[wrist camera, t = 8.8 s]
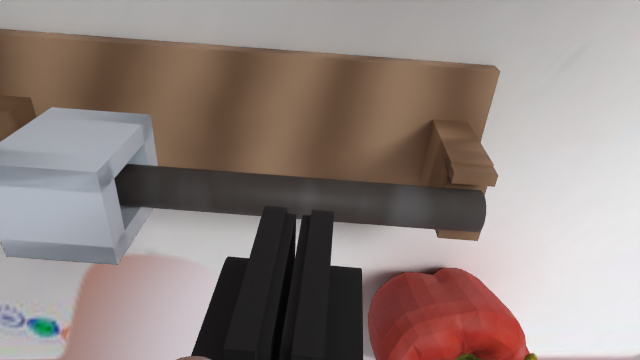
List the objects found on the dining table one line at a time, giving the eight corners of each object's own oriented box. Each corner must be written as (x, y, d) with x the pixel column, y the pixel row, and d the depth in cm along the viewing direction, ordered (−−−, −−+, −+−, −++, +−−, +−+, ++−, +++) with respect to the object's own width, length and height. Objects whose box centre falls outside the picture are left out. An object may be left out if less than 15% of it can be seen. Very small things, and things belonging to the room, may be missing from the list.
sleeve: (150, 114, 22) (96, 172, 17) (162, 194, 25) (117, 264, 20) (51, 107, 22) (-31, 162, 18) (73, 187, 25) (6, 256, 20)
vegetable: (433, 207, 30) (470, 328, 21) (539, 278, 32) (610, 410, 24) (335, 300, 34) (332, 429, 26) (434, 355, 37) (462, 488, 29)
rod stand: (494, 65, 25) (564, 136, 17) (454, 213, 30) (494, 319, 22) (-30, 27, 25) (-199, 79, 17) (21, 181, 30) (-91, 275, 22)
